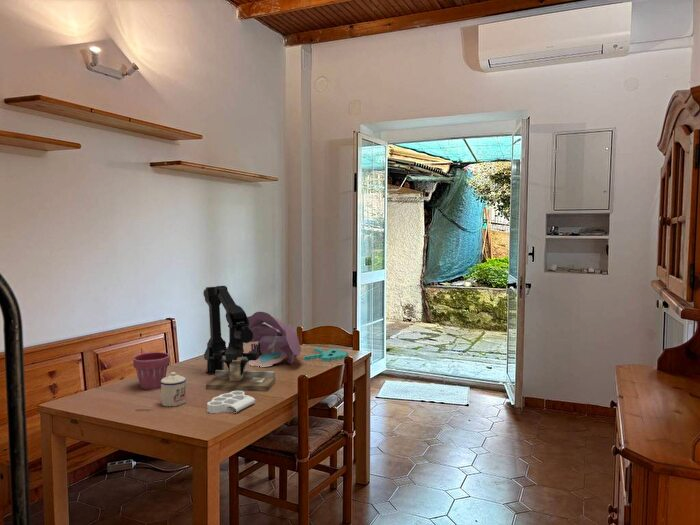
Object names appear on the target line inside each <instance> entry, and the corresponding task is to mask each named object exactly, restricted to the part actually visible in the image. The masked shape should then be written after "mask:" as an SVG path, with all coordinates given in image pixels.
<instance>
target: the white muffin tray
mask: <svg viewBox="0 0 700 525" xmlns="http://www.w3.org/2000/svg"><path fill="white" fill-rule="evenodd" d="M255 403H256V399H255V398H254V397H253V396H251V395H246V394H245V391H244V390H231V391H230V392H226V393H221V394H219V395H218V396H214V397H213V398H211V401H208V402H207V403H206V412H207V413H208V412H209V413H208V414H212V413H216V414H221V413H229V412H231V411H233V410H235V409H236V410H235V411H236V412H235V411H234V413H233V414H236V413H238V412H240V411H241V410H244V409H246V408H247V407H249V406H251V405H253V404H255ZM220 412H221V413H220Z"/></svg>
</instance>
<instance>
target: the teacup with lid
mask: <svg viewBox="0 0 700 525" xmlns="http://www.w3.org/2000/svg"><path fill="white" fill-rule="evenodd" d="M160 383H161V387H160V390H161V391H160V392H161V396H160V398H161V400H160V401H161V402H160V403H161V405H162V406H163V407H168V406H169V408H170V407H171V406H172V407H178V406H181V405H184V404H185V403H186V391H187V390H186V386H187V379H186V377H185V376H182V375H179V374H177V372H174V371H173V372H170V374H169V375H166V377H165V378H163V379H162V380H161V382H160Z"/></svg>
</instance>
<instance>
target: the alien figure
mask: <svg viewBox="0 0 700 525" xmlns="http://www.w3.org/2000/svg"><path fill="white" fill-rule="evenodd" d="M314 351H317V352H319V353H320V354H319V353H317V352H316V353H315V354H310V355H304V357H303V360H304V361H309V360H315V359H316V358H319V359H320V361H321V362H331V360H335V361H336V359H340V360H344V359H343V358H344V357H346V356H347V357H349V356H348V355H349V352H345V351H344V350H343V351H342V350H341V349H339V348H329V349H328V350H327V351H326V350H324V349H323V350H322V349H321V348H320V347H314V348H313V352H314ZM320 357H321V358H320Z"/></svg>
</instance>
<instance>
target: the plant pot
mask: <svg viewBox="0 0 700 525" xmlns="http://www.w3.org/2000/svg"><path fill="white" fill-rule="evenodd" d="M170 357H171V355H170V353H168V352H160V351H159V352H158V351H156V352H154V351H152V352H151V351H150V352H144V353H140V354H137V355H134V357H133V359H132V362H133V364H132V365H133V368H134V369H135V371H136V374H137V378H138V383H139V386H140V389H142V388H144V389H143V390H156V389H159V388H161V383H160V382H161V380H162V379H163V378H165V377H167V371H168V365H170V362H171V360H170V359H171V358H170ZM155 388H156V389H155Z"/></svg>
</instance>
